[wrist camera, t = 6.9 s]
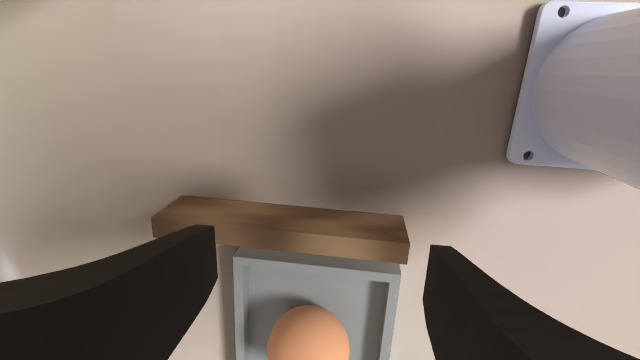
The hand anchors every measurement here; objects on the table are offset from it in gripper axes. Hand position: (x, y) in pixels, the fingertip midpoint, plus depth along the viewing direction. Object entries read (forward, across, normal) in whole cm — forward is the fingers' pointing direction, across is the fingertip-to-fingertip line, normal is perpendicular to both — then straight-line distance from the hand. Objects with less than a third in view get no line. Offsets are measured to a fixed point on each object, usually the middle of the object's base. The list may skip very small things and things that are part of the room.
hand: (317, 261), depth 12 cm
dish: (+10, +1, +10) cm, 14 cm away
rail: (+10, +3, +3) cm, 11 cm away
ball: (+9, +1, +10) cm, 14 cm away
